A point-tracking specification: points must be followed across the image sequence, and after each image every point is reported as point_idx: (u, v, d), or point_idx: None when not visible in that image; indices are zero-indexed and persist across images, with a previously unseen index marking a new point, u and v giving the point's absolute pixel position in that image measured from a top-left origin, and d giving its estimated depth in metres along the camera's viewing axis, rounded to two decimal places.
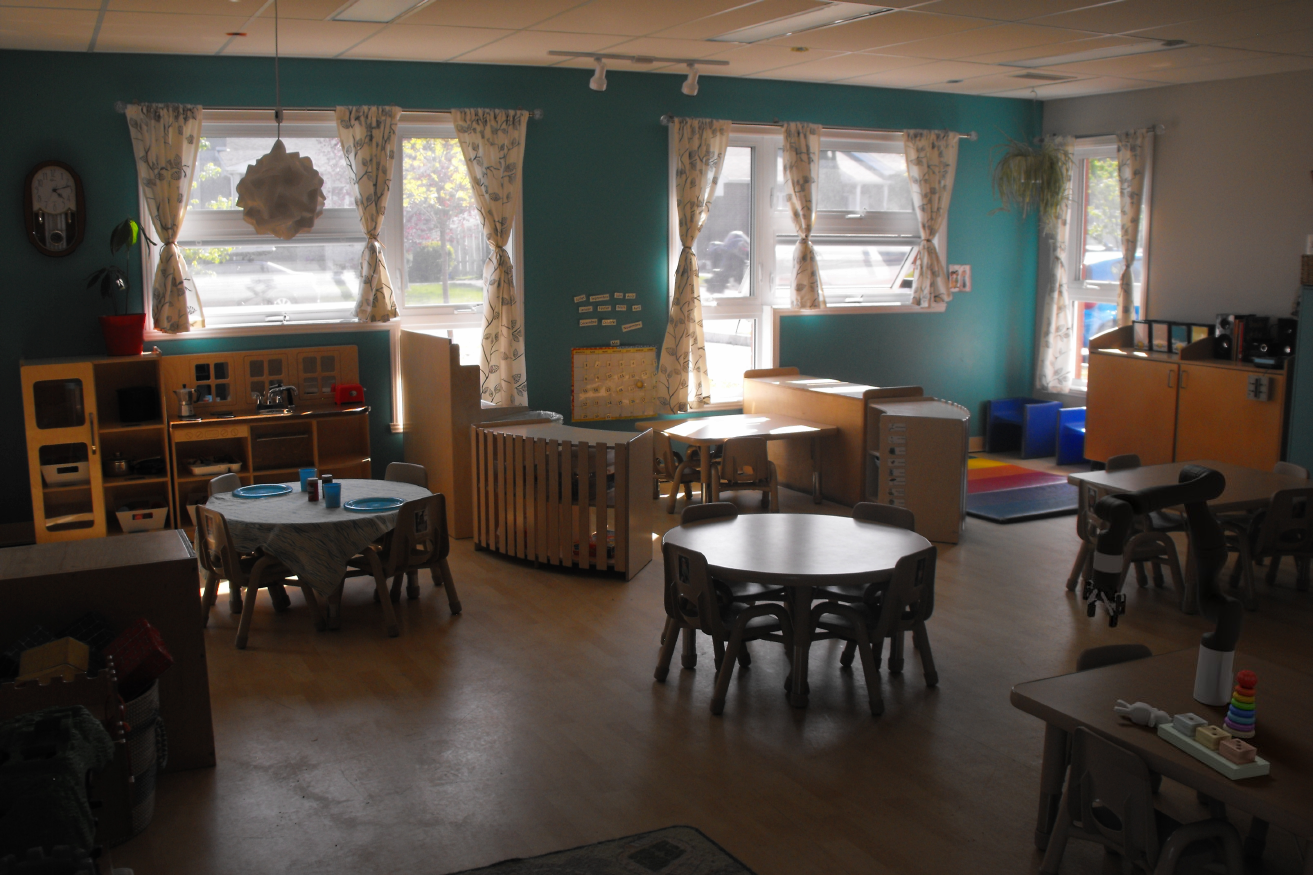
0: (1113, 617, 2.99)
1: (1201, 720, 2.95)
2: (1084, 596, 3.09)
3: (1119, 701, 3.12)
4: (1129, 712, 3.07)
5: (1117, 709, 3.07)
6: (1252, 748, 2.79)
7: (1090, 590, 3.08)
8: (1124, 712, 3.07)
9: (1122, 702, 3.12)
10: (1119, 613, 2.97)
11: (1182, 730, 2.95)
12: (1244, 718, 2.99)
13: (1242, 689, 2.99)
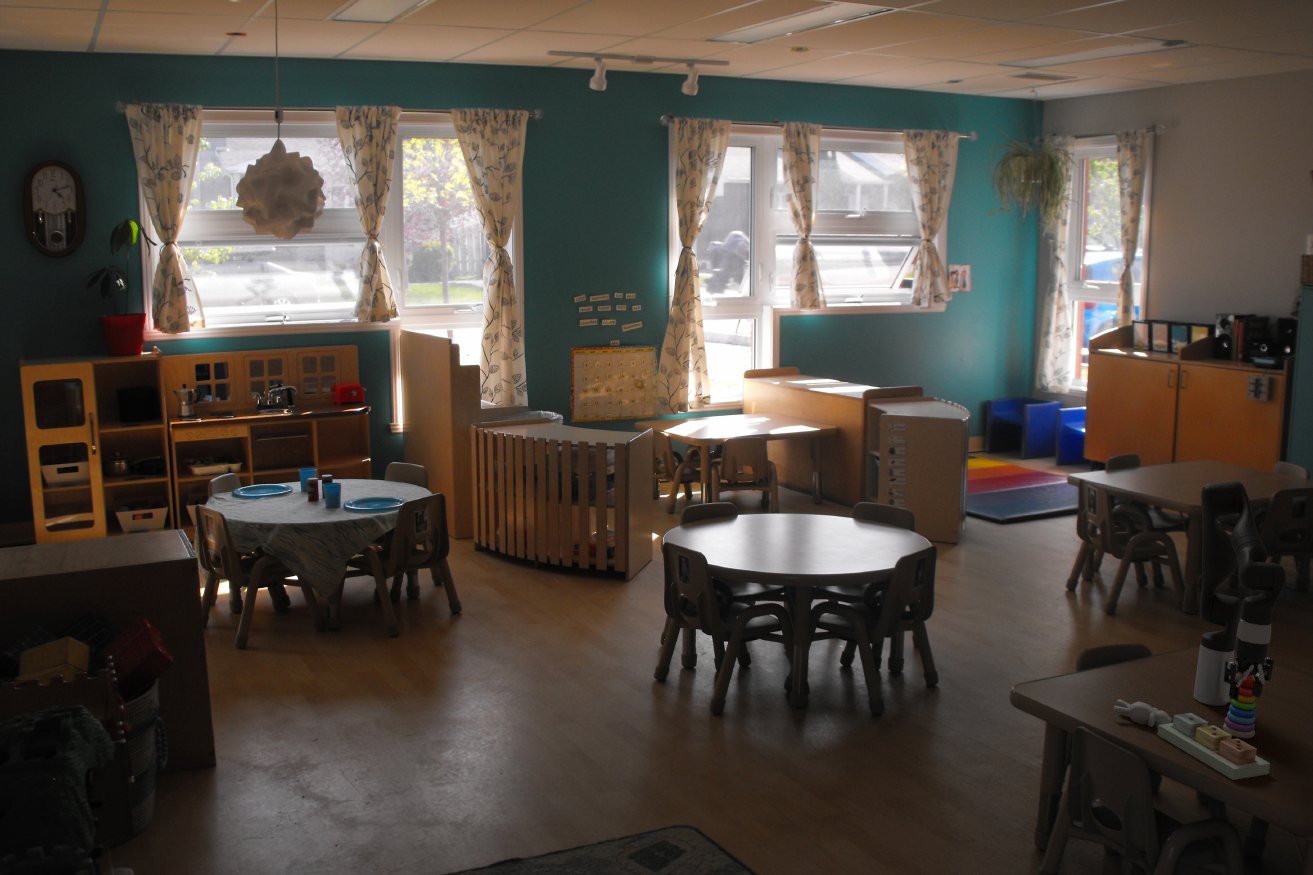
0: (1261, 685, 2.79)
1: (1201, 720, 2.95)
2: (1233, 681, 2.74)
3: (1119, 701, 3.13)
4: (1129, 711, 3.07)
5: (1117, 708, 3.08)
6: (1252, 748, 2.79)
7: None
8: (1124, 711, 3.07)
9: (1122, 702, 3.12)
10: None
11: (1182, 730, 2.95)
12: (1244, 718, 2.99)
13: (1242, 689, 2.99)
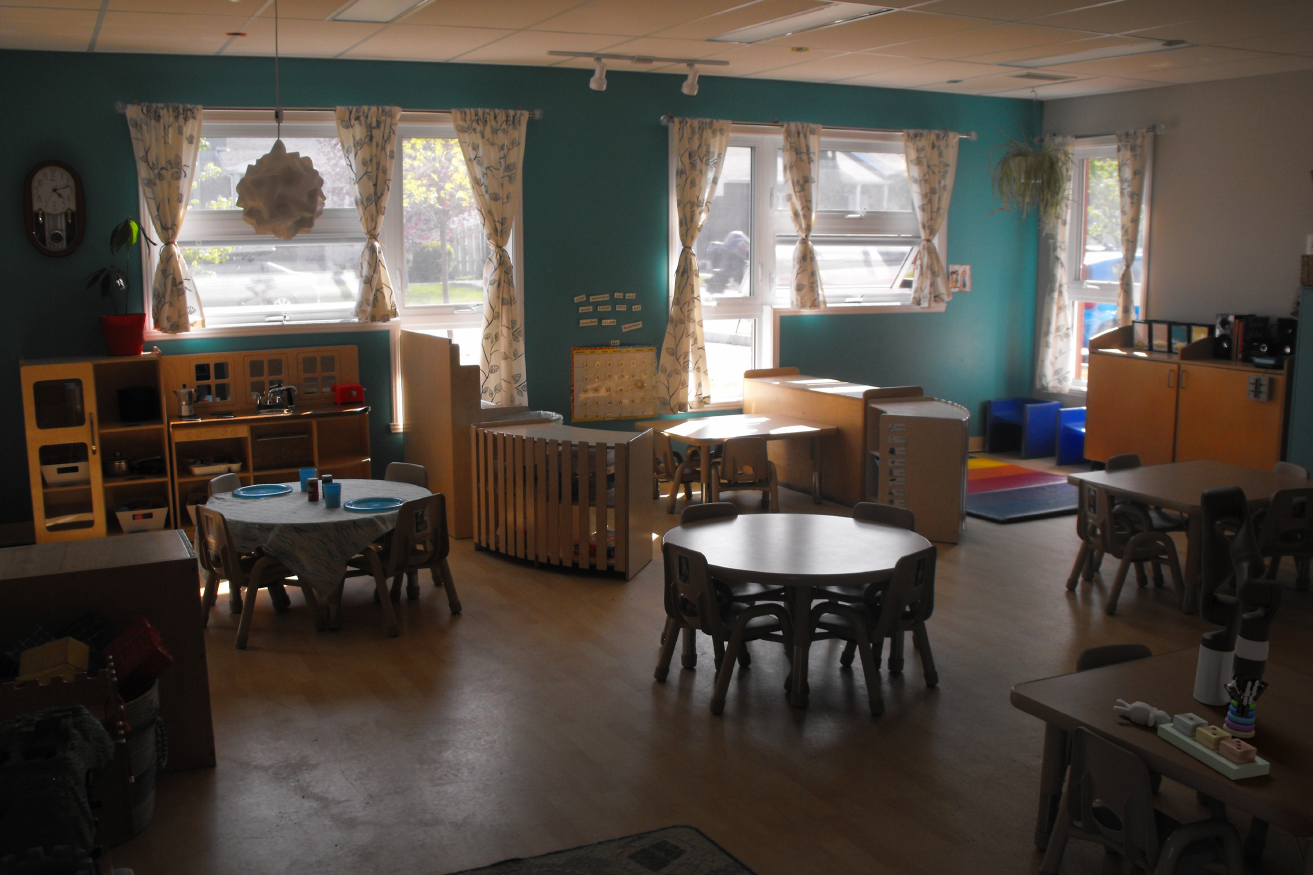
0: (1248, 705, 2.78)
1: (1201, 720, 2.95)
2: (1241, 699, 2.76)
3: (1118, 700, 3.13)
4: (1128, 711, 3.07)
5: (1116, 708, 3.08)
6: (1252, 748, 2.79)
7: None
8: (1123, 711, 3.07)
9: (1121, 701, 3.12)
10: None
11: (1182, 730, 2.95)
12: (1244, 718, 2.99)
13: None
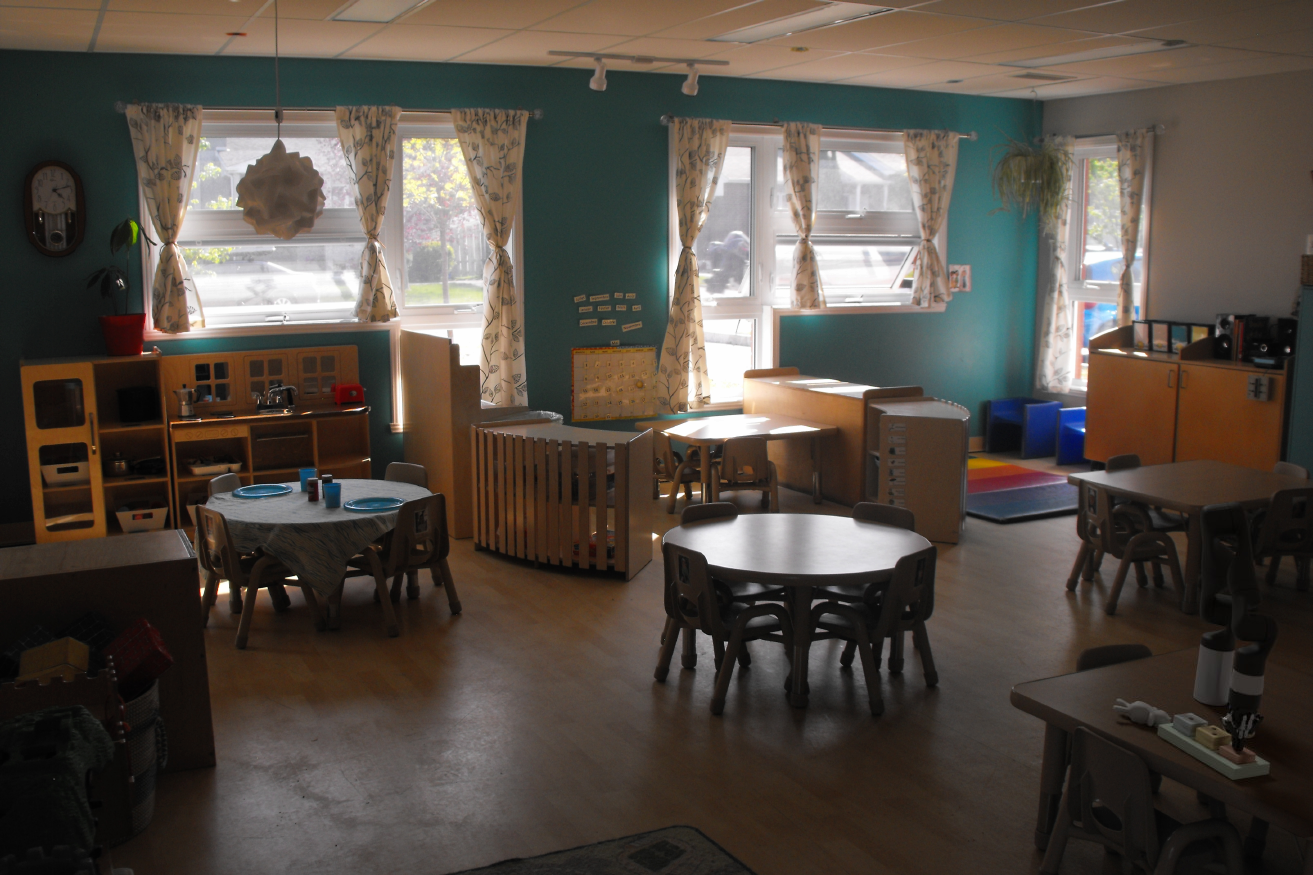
0: None
1: (1201, 720, 2.95)
2: (1236, 732, 2.78)
3: (1118, 700, 3.13)
4: (1128, 711, 3.08)
5: (1116, 708, 3.08)
6: (1251, 753, 2.79)
7: None
8: (1123, 711, 3.08)
9: (1121, 701, 3.13)
10: None
11: (1182, 730, 2.95)
12: None
13: None
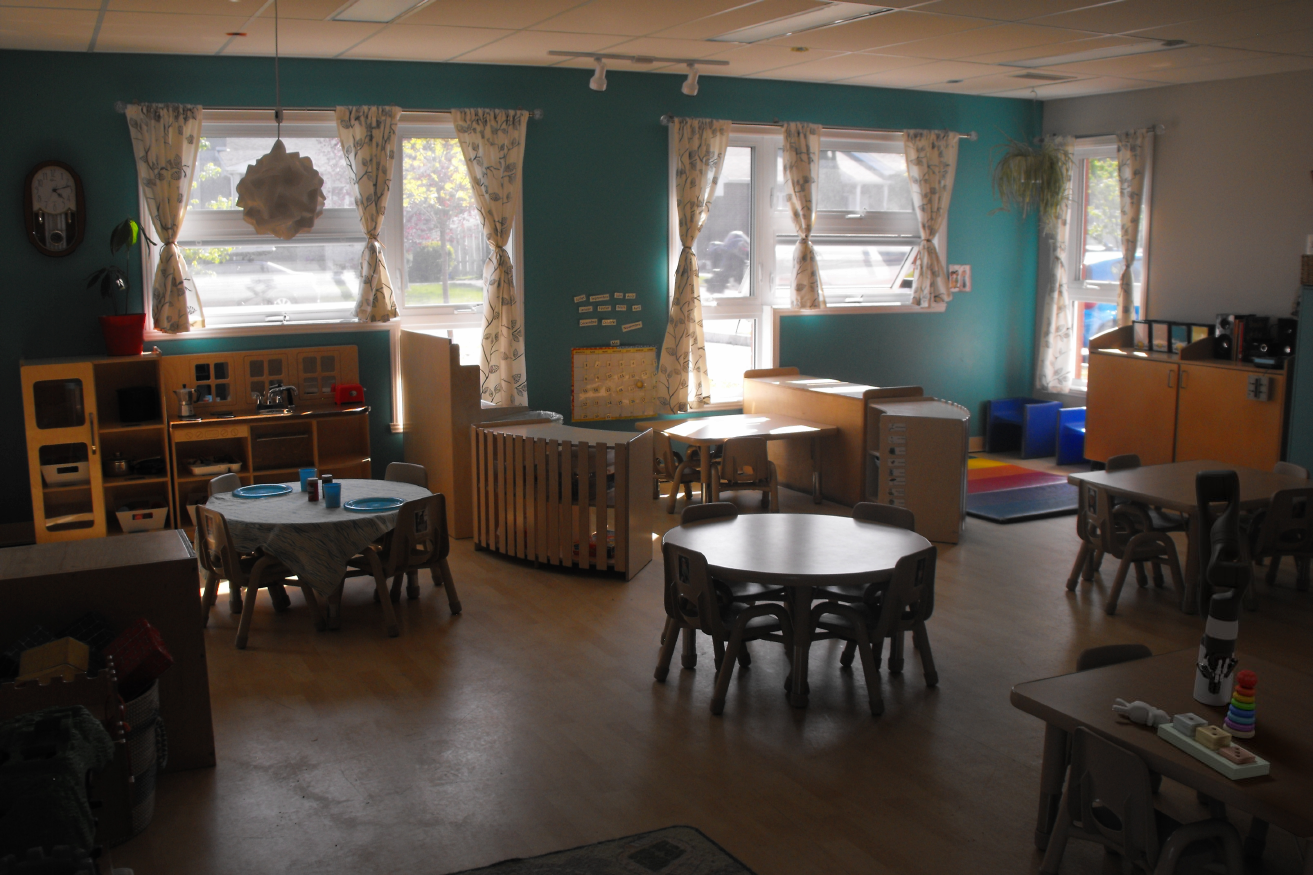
0: None
1: (1201, 720, 2.95)
2: (1212, 677, 2.86)
3: (1118, 700, 3.13)
4: (1127, 711, 3.08)
5: (1115, 707, 3.08)
6: (1251, 755, 2.79)
7: None
8: (1122, 711, 3.08)
9: (1121, 701, 3.13)
10: None
11: (1182, 730, 2.95)
12: (1244, 718, 2.99)
13: (1242, 689, 2.99)
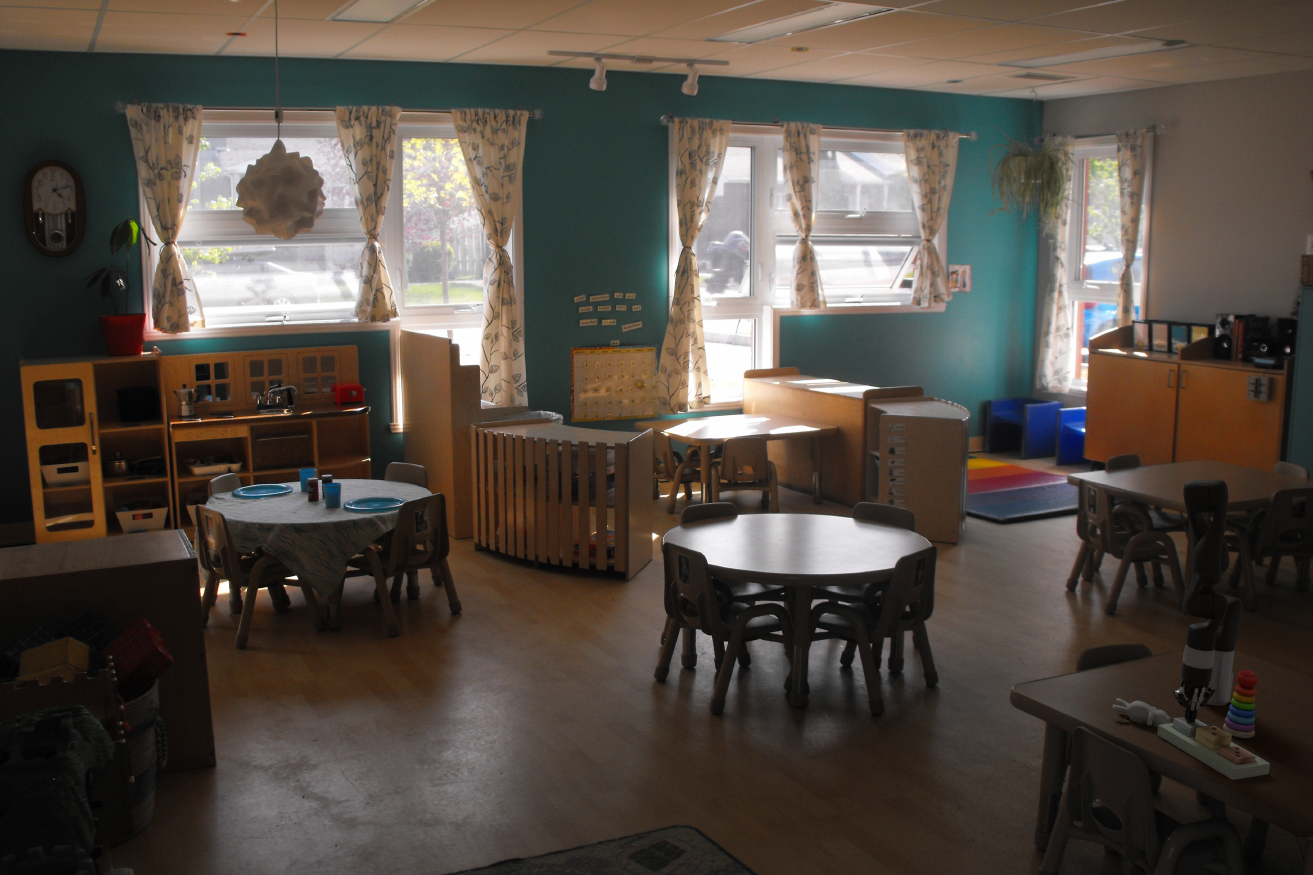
0: (1196, 711, 2.95)
1: (1201, 723, 2.95)
2: (1188, 705, 2.93)
3: (1118, 699, 3.13)
4: (1127, 710, 3.08)
5: (1115, 707, 3.08)
6: (1251, 755, 2.79)
7: None
8: (1122, 710, 3.08)
9: (1121, 700, 3.13)
10: None
11: None
12: (1244, 718, 2.99)
13: (1242, 689, 2.99)
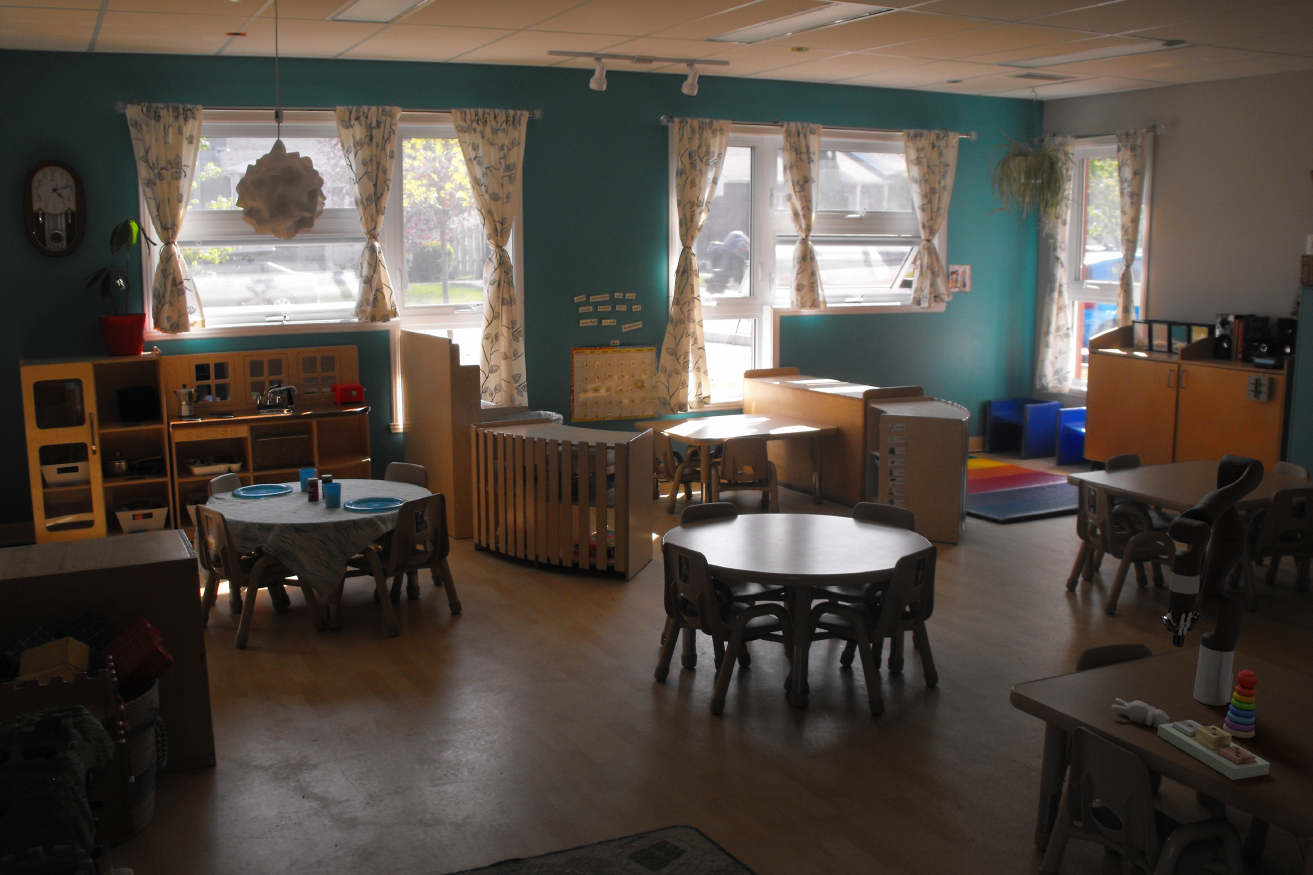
0: (1183, 635, 3.02)
1: None
2: (1176, 630, 3.00)
3: (1117, 699, 3.14)
4: (1126, 710, 3.08)
5: (1114, 707, 3.09)
6: (1251, 755, 2.79)
7: None
8: (1121, 710, 3.08)
9: (1120, 700, 3.13)
10: None
11: None
12: (1244, 718, 2.99)
13: (1242, 689, 2.99)
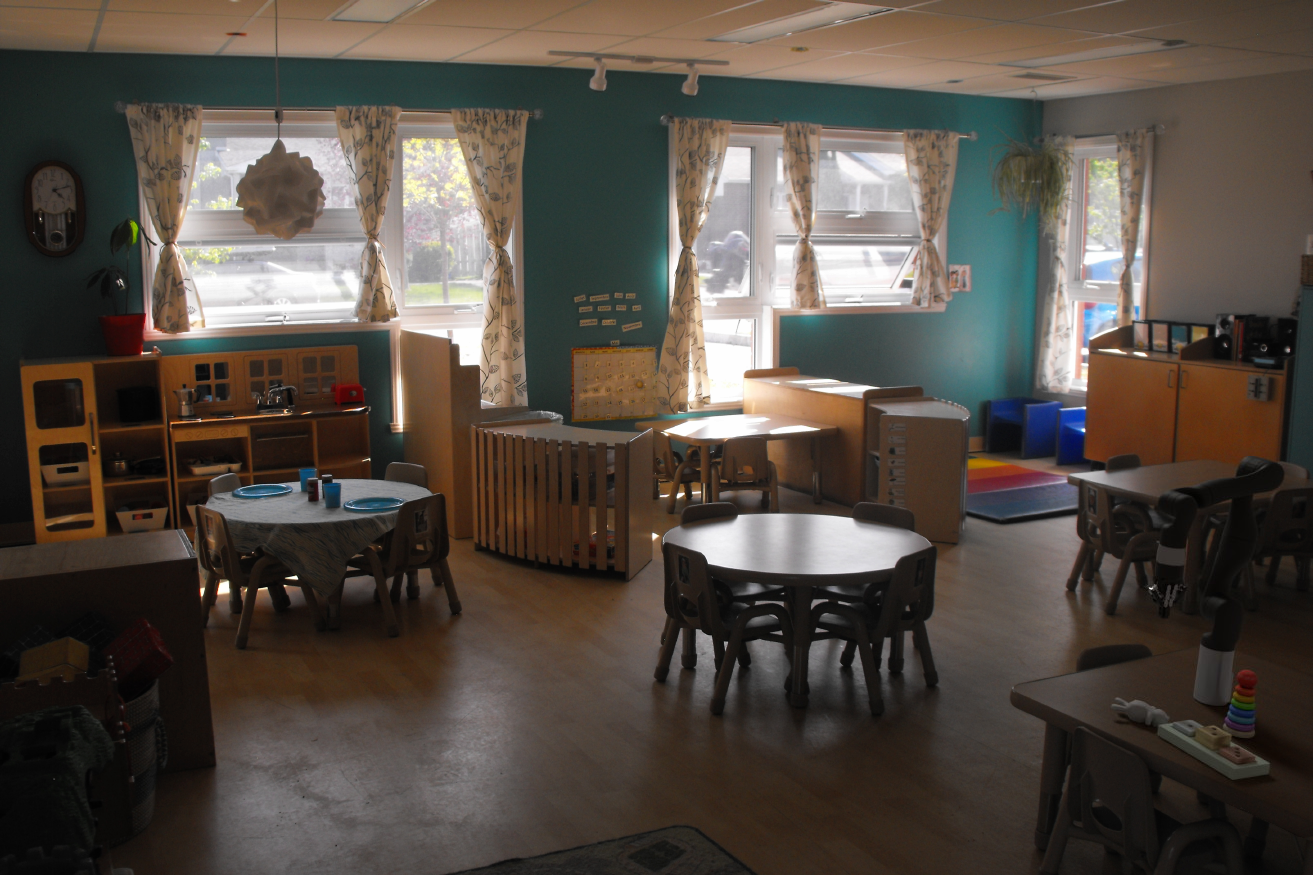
0: (1169, 607, 3.09)
1: None
2: (1162, 601, 3.07)
3: (1117, 699, 3.14)
4: (1126, 710, 3.08)
5: (1114, 707, 3.09)
6: (1251, 755, 2.79)
7: None
8: (1121, 710, 3.09)
9: (1120, 700, 3.13)
10: None
11: None
12: (1244, 718, 2.99)
13: (1242, 689, 2.99)
